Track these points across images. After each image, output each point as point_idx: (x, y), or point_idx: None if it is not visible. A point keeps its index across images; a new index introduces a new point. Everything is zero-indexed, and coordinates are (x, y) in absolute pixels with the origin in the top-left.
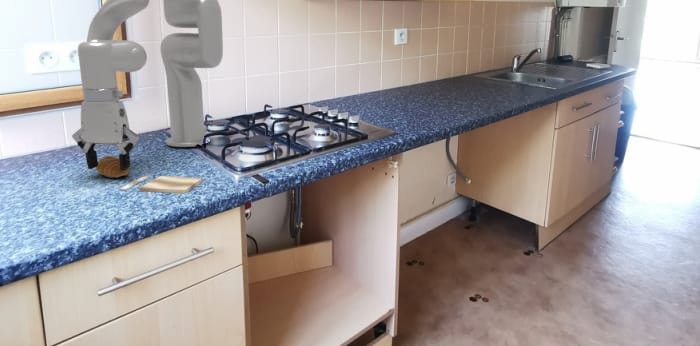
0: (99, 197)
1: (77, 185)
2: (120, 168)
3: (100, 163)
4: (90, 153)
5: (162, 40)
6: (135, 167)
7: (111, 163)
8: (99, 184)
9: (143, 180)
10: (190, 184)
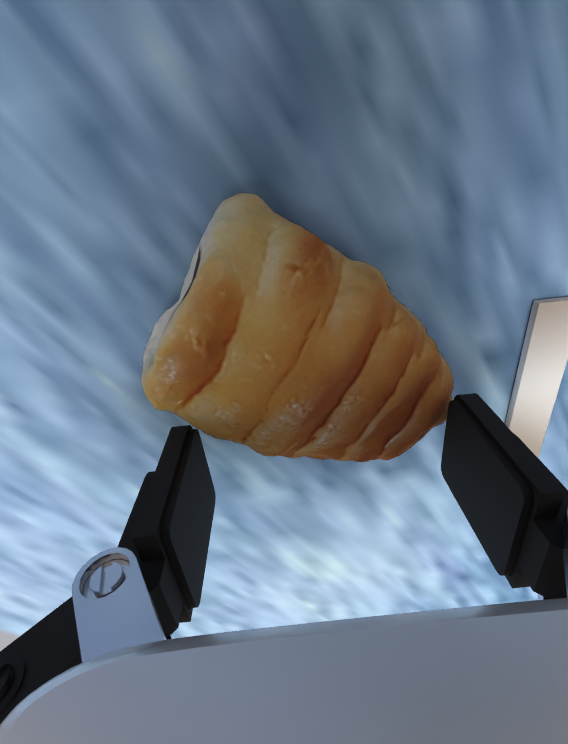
0: (437, 605)
1: (231, 531)
2: (446, 480)
3: (217, 436)
4: (194, 600)
5: None
6: (310, 6)
7: (330, 440)
8: (328, 497)
9: (551, 394)
10: None
